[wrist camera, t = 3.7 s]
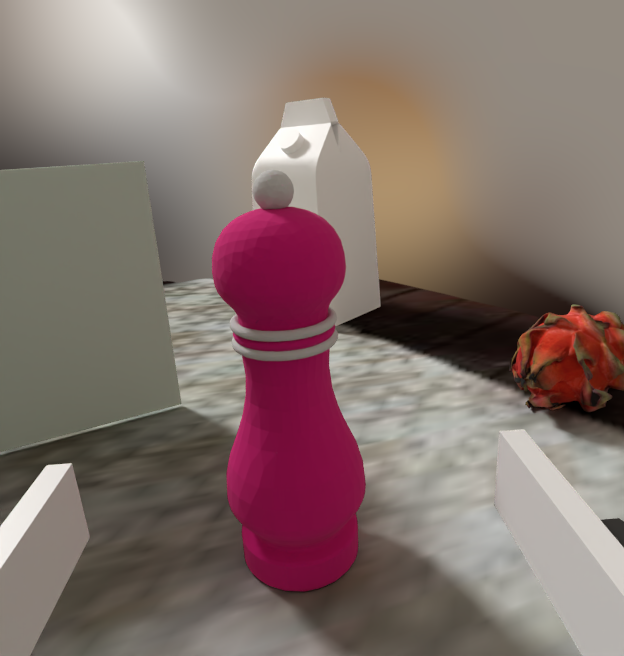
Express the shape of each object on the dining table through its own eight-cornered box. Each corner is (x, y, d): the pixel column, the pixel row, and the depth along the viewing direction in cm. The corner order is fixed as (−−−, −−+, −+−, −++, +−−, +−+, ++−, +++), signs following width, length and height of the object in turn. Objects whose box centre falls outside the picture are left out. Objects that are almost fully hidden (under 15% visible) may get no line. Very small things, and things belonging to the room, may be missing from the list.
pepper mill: (288, 491, 34) (261, 166, 27) (390, 531, 30) (387, 161, 23) (207, 564, 28) (147, 177, 21) (319, 626, 24) (288, 174, 17)
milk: (380, 306, 70) (377, 96, 62) (325, 330, 62) (312, 93, 54) (314, 294, 78) (303, 106, 69) (257, 314, 70) (237, 104, 61)
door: (181, 403, 45) (143, 161, 38) (-101, 478, 37) (-212, 183, 30) (174, 392, 47) (137, 161, 41) (-94, 460, 39) (-196, 182, 32)
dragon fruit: (621, 399, 46) (528, 462, 41) (551, 327, 49) (459, 376, 44) (693, 346, 39) (592, 413, 34) (606, 267, 42) (504, 317, 38)
